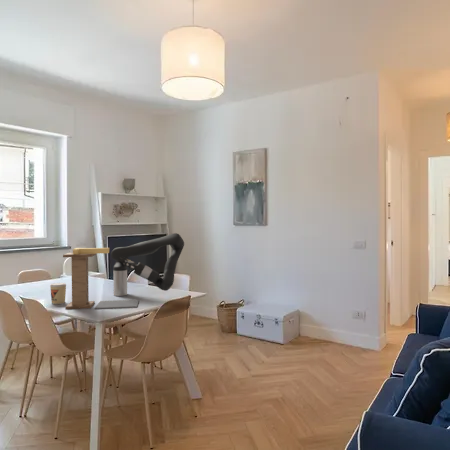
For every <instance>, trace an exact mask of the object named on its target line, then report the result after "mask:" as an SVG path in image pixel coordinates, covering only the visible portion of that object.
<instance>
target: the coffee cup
mask: <svg viewBox="0 0 450 450" xmlns="http://www.w3.org/2000/svg"><path fill="white" fill-rule="evenodd" d="M49 287H50V297H51V300H50V301H51V304H52V303H53V304H52V305H61V304H65V303H66V292H67V284H66V282H56V283H55V282H54V283H50V286H49Z"/></svg>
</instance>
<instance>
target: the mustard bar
mask: <svg viewBox="0 0 450 450" xmlns="http://www.w3.org/2000/svg"><path fill="white" fill-rule="evenodd" d="M72 253H73V254H95V253H96V254H110V247H75V248H73V249H72Z"/></svg>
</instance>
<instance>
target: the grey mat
mask: <svg viewBox="0 0 450 450" xmlns="http://www.w3.org/2000/svg"><path fill="white" fill-rule="evenodd" d="M139 302H140V299H120V300H119V299H117V300H115V299H114V300H100V301H99V302H98V303H97V304H96V305H95V307H94V310H108V309H111V310H113V308H114V309H130V308H131V309H133V308H136V309H137V307H138V305H139Z"/></svg>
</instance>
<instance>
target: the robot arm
mask: <svg viewBox="0 0 450 450" xmlns="http://www.w3.org/2000/svg"><path fill="white" fill-rule="evenodd" d="M164 246H170V247H171V248H172V249H171V250H172V251H171V254H170V256H169V258H168V259H167V260H166V262H165V264H164V267H163V276H162V277H163V278H162V277H161V275H160V273H159V272H158V271H156V270H154V269H152V268H151V267H149V266H148V265H145V264H144V263H142V262H140V261H139V262H138V264H137V262H135V261H133V260H131V259H129V258H132V257H141V256H148V255H152V254H155V252H157V251H158V250H160V248H162V247H164ZM184 246H185V242H184V240H183V238H182V236H181V235H180V234H179V233H176V232H175V233H171V234H168V235H165V236H161V237H158V238H153V239H149V240H145V241H141V242H138V243H135V244H131V245H129V246H120V247H115V248H114V249H113V250H111V252H110V257H111V259H112V260H114V261H115V263H114V265H113V269H112V271H113V296H115V297H121V296H123V297H124V296H127V295H128V268H129V269H131V270H134V271H133V274H134V275H136V276H139V277H140V278H142V279H145V280H147V281H149V282H151V283H152V284H154V285H155V286H156V288H158V289H159V290H162V291H166V292H167V291H168V290H170V289H171V287H172V286H173V285H174V281H175V272H176V268H177V264H178V260H179V258H180V256H181V254H182V252H183V249H184Z"/></svg>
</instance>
